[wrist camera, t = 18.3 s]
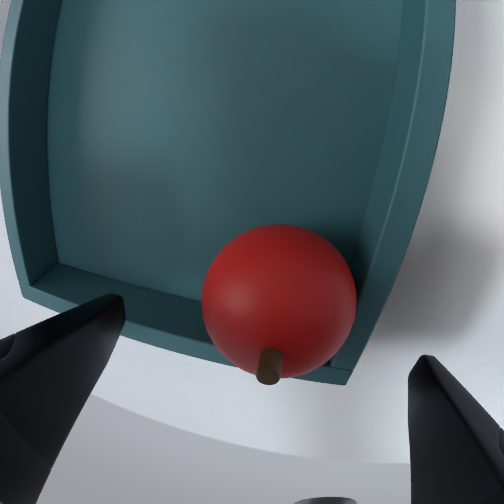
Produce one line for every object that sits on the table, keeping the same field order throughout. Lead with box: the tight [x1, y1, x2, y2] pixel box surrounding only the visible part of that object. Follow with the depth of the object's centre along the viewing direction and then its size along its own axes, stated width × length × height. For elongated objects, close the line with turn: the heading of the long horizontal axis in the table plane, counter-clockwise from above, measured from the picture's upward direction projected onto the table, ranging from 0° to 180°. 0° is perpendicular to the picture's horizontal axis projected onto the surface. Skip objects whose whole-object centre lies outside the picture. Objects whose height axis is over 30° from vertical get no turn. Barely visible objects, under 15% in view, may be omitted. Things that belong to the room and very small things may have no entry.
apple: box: [201, 224, 356, 385], centre depth 10 cm, size 5×5×6 cm
